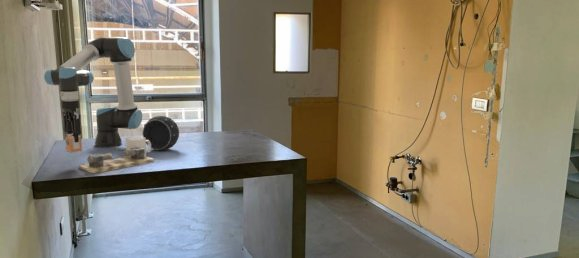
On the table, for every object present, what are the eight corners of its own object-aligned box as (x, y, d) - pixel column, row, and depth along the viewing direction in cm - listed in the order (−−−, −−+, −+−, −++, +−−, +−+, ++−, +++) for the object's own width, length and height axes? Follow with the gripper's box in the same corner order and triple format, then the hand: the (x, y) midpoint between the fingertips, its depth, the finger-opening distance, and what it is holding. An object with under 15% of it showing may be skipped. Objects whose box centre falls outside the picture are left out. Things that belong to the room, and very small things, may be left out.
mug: (145, 153, 245) (144, 135, 243) (155, 156, 238) (154, 137, 237) (122, 157, 235) (121, 138, 233) (132, 160, 228) (131, 140, 226)
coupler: (65, 151, 211) (64, 137, 210) (78, 149, 216) (77, 135, 214) (70, 152, 208) (68, 138, 207) (82, 150, 213) (81, 136, 212)
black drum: (173, 153, 246) (172, 118, 243) (140, 151, 250) (139, 116, 246) (181, 149, 256) (180, 115, 253) (150, 147, 260) (149, 114, 257)
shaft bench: (93, 173, 201) (92, 159, 200) (79, 168, 210) (78, 155, 209) (153, 161, 225) (153, 149, 224) (138, 157, 234) (138, 145, 233)
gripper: (53, 99, 210) (57, 146, 214) (70, 102, 199) (74, 152, 203) (69, 97, 216) (73, 143, 220) (86, 101, 205) (90, 149, 209)
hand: (73, 147), depth 212 cm, fingers closed on coupler, 4 cm apart
